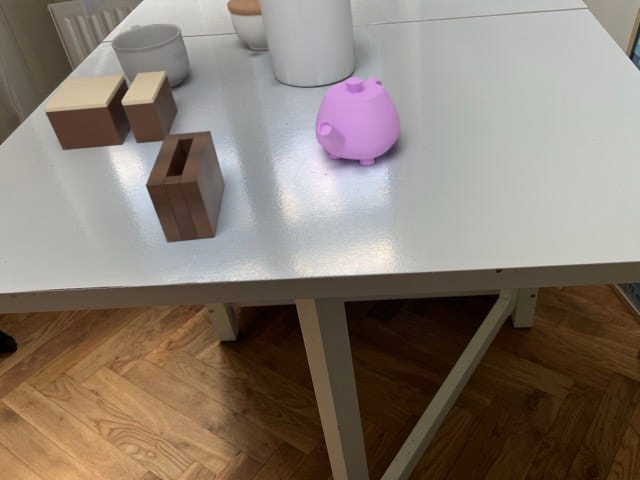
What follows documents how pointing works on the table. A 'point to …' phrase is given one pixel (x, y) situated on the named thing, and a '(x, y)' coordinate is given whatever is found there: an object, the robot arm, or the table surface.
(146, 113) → the cake slice
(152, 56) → the teacup
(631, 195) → the table surface
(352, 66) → the utensil holder
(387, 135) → the teapot
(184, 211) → the knife block
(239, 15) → the trinket box
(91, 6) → the knife
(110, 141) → the cake
